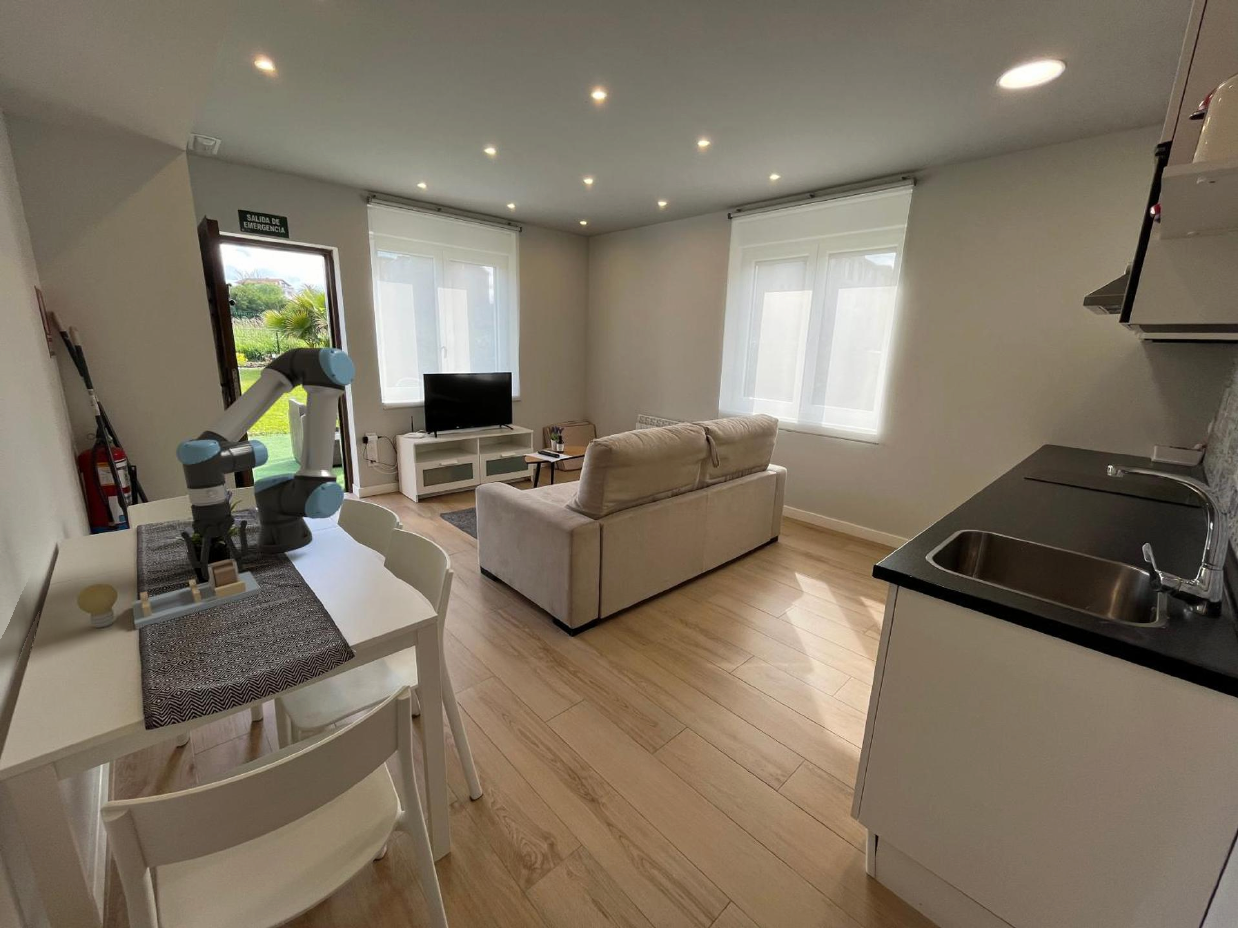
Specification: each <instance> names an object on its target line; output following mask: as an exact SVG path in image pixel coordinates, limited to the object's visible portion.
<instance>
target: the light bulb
mask: <svg viewBox="0 0 1238 928" xmlns="http://www.w3.org/2000/svg"><path fill="white" fill-rule="evenodd" d="M117 599H118V592H117V590H116V588H115V587H114V586H112V585H110V584H107V583H97V584H94V585H93V584H92V585H90V586H88V587H85V588H84V589H83V590H82V591H80V592H79V594H78V596H77V598H76V604H77V606H78V608H80V610H82V611H84V612H85V613H87V614H90V616H89V617H90V618H89V619H90V621H91V623H92V627H93V628H97V629H99V628H100V629H101V628H105V627H108V626H111V625H113V624H114V622H116V616H115V613H114V610H113V606H114V605H115V604H116V601H117Z"/></svg>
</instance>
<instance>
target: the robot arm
mask: <svg viewBox="0 0 1238 928" xmlns="http://www.w3.org/2000/svg"><path fill="white" fill-rule="evenodd" d="M355 373H356V371H355V366H354V363H353V360H352V359H351V358H350V356H349V355H348V354H347V352H345V351H344V350H342V349H341V348H336V347H335V348H334V347H327V346H326V347H325V346H324V347H295V348H291V349H289V350H286V351H285V352H283V353H281V354H280V355H278V356H277V357H275V358H274V359H273V360H271V361H270V362H269V363H268V364H267V365H265V367H264V368H262V370H261V371H260V376H259V378H258V379H257V380H256V381H255V382H254V383H253V384H252V385H250V387H249V388H247V390H246V391H244V392H243V393H242V394H241V395H240V396H239V397H238V398H237V399H236V400H235V401H234V402H233V403H232V404H231V405H230V406H229V407H228V408H227V409H226V410H225V411H224V412H223V413H222V414H220V416H219V417H218V418H217V419H215V420H214V422H212V423H211V424H210V425H209V426H208V427H207V428H206V429H205V430H204V431H203V432H202V433H200V435H199V436H198V437H197V438H192V439H186V440H183V441H181V442H180V443H179V444H178V445H177V447H176V451H175V453H176V454H175V456H176V457H177V460H178V461H179V462H180V463H181V464H182V470H183V473H184V478H185V483H186V488H187V494H188V500H189V503H191V506H190V508H191V509H190V511H191V515H192V518H193V521H192V522H193V523H192V524H191V526H190V527H188V528H186V529H181V530H180V531H179V534H180V537H182V539H184V541H185V545H186V550H187V555H188V558H189V563H190V565H191V568H192V569H201V574H202V575H201V576H202V577H203V578H202V579H204V580H205V581H206V580H208V582H209V581H210V586H211V589H212V591H215V590H214V588H216V587H215V582H214V576H213V571H212V567H211V565H210V564H211V563H209V557H210V556H209V555H210V547H211V542H212V539H214V538H216V537H223V539H224V541H225V543H226V545H227V546H228V548H229V550H230V552H231V554H232V556H233V558H231V559H230V561H231V563H232V565H233V566H234V568H235V572H236V577H237V582H240V580H239V574H240V573H239V572H242V571H243V569H244V567H243V563H242V559H243V558H245V557H248V556H249V555H250V551H249V545H248V538H247V531H246V528H247V525H248V521H247V520H246V518H239V519H238V518H235V517H234V516H233V515H232V509H231V504H230V501H229V500H228V498H229V495H228V490H227V484H226V476H225V475H228V474H229V475H230V474H233V473H237V472H241V471H247V470H250V469H256V468H258V467H261V466H264V465H265V464H266V463H267V461H268V459H269V451H268V448H267V446H266V445H265V444H264V443H263V441H260V440H257V439H251V440H247V439H246V440H243V441H240V440H241V439H242V438H243V436H245V435H246V433H247V432H249V430H251V428H252V427H253V426H254V425H255V424H256V423H257V422H259V420H260V419H261V418H262V417H263V416H264V415H265V414H266V412H268V411H269V410H270V409H271V408H272V407H273V406H274V405H275V404H276V402H277V401H279V399H281V397H282V396H284V394H289V393H291V392H293V390H294V389H295V388H297V387H300V386H301V388H302V389H303V390H304V391H305V392H306V404H305V415H304V426H303V435H302V436H303V438H302V447H301V448H302V449H301V456H300V458H301V459H300V468H299V469H298V471H296V472H294V473H293V472H289V473H288V472H287V473H280V474H274V475H271V476H270V475H269V476H266V477H263V478H259V479H258V480H256V481H255V482H254V483H253V495H254V499H255V500H254V501H255V505H256V509H257V514H258V521H259V531H258V534H257V539H256V540H257V541H256V548H257V550H258V551H259V552H260V553H267V554H272V553H273V554H274V553H282V552H283V553H284V552H289V551H292V550H297V549H300V548H302V547H305V546H306V545H309V544H310V543H311V542H312V541H313V533H312V531H311V529H310V527H309V526H308V524H307V523H306V522H307V521H305V519H304V518H307V519H308V518H309V519H316V520H317V519H327V518H331V517H332V516H334V515H336V513H337V512H338V511H339V510H340V508H341V507H342V505H343V502H344V498H345V492H344V489H343V488H342V485H340V484H339V483H338V482H337V479H338V478H337V477H338V476H337V475H336V473H334V471H333V465H334V464H333V463H334V451H335V441H336V440H335V439H336V430H337V429H336V428H337V419H338V418H337V416H338V407H339V406H338V405H339V398H340V396H343V394H345V390H346V389H345V387H346V386H348V385H350V384H351V383H352V382H353V381H354V378H355V375H356V374H355ZM222 484H224V486H223V485H222ZM234 524H235V528H237V529H238V530H237V531H238V538H239V544H240V550H241V551H240V552H239V551H238V549H237V547H236V545H235V543H234V541H233V540H232V539H233V538H231V535H230V532H229V531H230V529H232V527H233V525H234ZM194 532H196V533H197V534H199V535H201V536H202V543H201V553H200V561H198V559H197V555H196V551H195V545H194V541H193V539H192V538H193V536H194Z"/></svg>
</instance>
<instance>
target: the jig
mask: <svg viewBox="0 0 1238 928" xmlns="http://www.w3.org/2000/svg"><path fill="white" fill-rule="evenodd" d="M238 574H239V580H240V582H236V583H232V584H229V585H225V586H221V587H218V588H214V590H215V591H212V589H211V586H210V581H209V580H208V581H207V582H204V583H199V584H197V582H196V580H195V579H190V580H188V583H189V587H184V588H181V589H177V590H173V591H169V592H165V593H161V594H157V595H154V596H150V597H149V596H148V592H147V591H143V592H140V593H139V594H140V599H139V600H135V601H132V602H131V605H132V613H133V622H134V626H135V630H139V629H143V628H145V627H144V626H146V625H149V624H153V623H157V624H160V623H163V622H166V621H170V620H174V619H176V618H180V617H184V616H188V615H191V614H194V613H197V612H200V611H205V610H208V609H211V608H215V607H219V606H222V605H226V604H228V603H233V602H236V601H239V600H242V599H246V598H249V597H253V596H257V595H261V594H262V588H261V586H260V585H259V583H258V581H257V580H256V579H255V577H254V576H253V574H252V572H251V571H250V570H249V571H246V572H242V573H238ZM215 587H216V586H215ZM153 625H154V624H153ZM142 627H143V628H142Z"/></svg>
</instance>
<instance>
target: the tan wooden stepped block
mask: <svg viewBox="0 0 1238 928" xmlns="http://www.w3.org/2000/svg"><path fill="white" fill-rule="evenodd" d="M209 564H210V565H211V567H212V571H213V576H214V582H215V586H216V588H218V587H221V586H225V585H229V584H232V583H236V582H237V577H236V572H235V568H234V566H233V565H232V563H231V559H229V558H228V559H224V560H220V561H216V562H212V563H209Z"/></svg>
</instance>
